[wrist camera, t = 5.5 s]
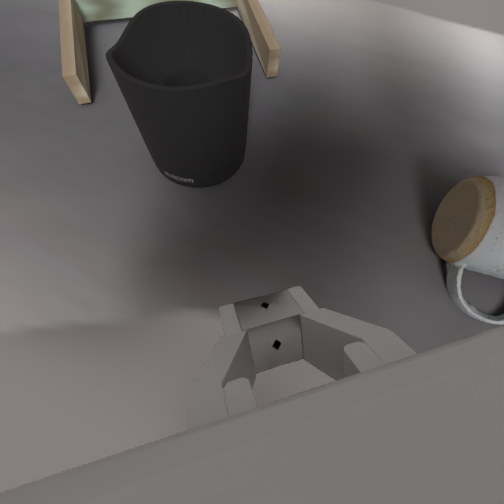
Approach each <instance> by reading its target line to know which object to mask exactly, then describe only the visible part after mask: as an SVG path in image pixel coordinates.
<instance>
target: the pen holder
mask: <svg viewBox="0 0 504 504" xmlns="http://www.w3.org/2000/svg"><path fill="white" fill-rule="evenodd" d="M252 55H253V53H252V43H251V38H250V34H249V32H248V29H247V27H246V26H245V25H244V23H243V22H242V21H241V20H240V19H239V18H238V17H237V16H235V15H234V14H232V13H230V12H229V11H227V10H225V9H222V8H220V7H217V6H214V5H211V4H207V3H202V2H195V1H167V2H160V3H156V4H152V5H149V6H147V7H145V8H143V9H142V10H140V11H139V12H138V13H136V14H135V16H134V17H133V18H132V19H131V20H130V22H129V23H128V25H127V27H126V28H125V30H124V32H123V33H122V35H121V37H120V39H119V40H118V42H117V43H116V44H115V45H114V46H113V47H112V48H111V49H109V50H108V51H107V53H106V59H107V61H108V63H109V66H110V68H111V70H112V72H113V74H114V76H115V79H116V81H117V83H118V85H119V87H120V89H121V92H122V94H123V96H124V98H125V100H126V102H127V105H128V107H129V109H130V111H131V113H132V115H133V118H134V120H135V122H136V124H137V126H138V128H139V131H140V133H141V135H142V137H143V139H144V141H145V144H146V146H147V148H148V150H149V152H150V154H151V156H152V158H153V160H154V162H155V164H156V166H157V168H158V169H159V170H160V172H161V173H162V174H163V175H164V176H165V177H167V178H168V179H170V180H171V181H173V182H175V183H177V184H180V185H184V186H189V187H207V186H212V185H215V184H218V183H220V182H222V181H224V180H226V179H228V178H229V177H231V176H232V175H233V174H234V173H235V172H236V171H237V170H238V168H239V167H240V165H241V163H242V161H243V158H244V153H245V143H246V133H247V121H248V108H249V95H250V83H251V70H252Z"/></svg>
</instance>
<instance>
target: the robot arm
mask: <svg viewBox="0 0 504 504" xmlns="http://www.w3.org/2000/svg"><path fill="white" fill-rule="evenodd" d="M219 312H220V316H221V320H222V324H223V329H224V333H225V336H223V337H221V338H220V340H219V341H218V343H217V345H216V346H215V348H214V350H213V351H212V353H211V354H210V356H209V358H208V359H207V361H206V363H205V364H204V366H203V368H202V369H201V371H200V373H199V375H198V376H197V378H196V379H195V381H194V383H193V384H192V386H191V388H190V389H189V391H188V393H187V408H188V430H186V431H183V432H180V433H177V434H175V435H171V436H169V437H165V438H163V439H160V440H157V441H153V442H150V443H147V444H145V445H141V446H138V447H135V448H132V449H129V450H126V451H123V452H120V453H118V454H115V455H111V456H108V457H105V458H102V459H99V460H96V461H93V462H90V463H88V464H84V465H81V466H78V467H75V468H72V469H69V470H66V471H63V472H60V473H57V474H54V475H51V476H48V477H45V478H42V479H39V480H36V481H33V482H30V483H27V484H24V485H21V486H18V487H15V488H12V489H9V490H6V491H3V492H0V504H504V325H502V326H499V327H496V328H493V329H490V330H487V331H484V332H481V333H478V334H475V335H472V336H469V337H466V338H463V339H460V340H457V341H454V342H451V343H448V344H445V345H442V346H439V347H436V348H433V349H430V350H427V351H424V352H421V353H418V354H417V353H415V352H414V351H413V350H412V349H411V348H410V347H409V346H408V345H407V344H406V343H405V342H403V341H402V340H401V339H400V338H399V337H398V336H397V335H396V334H395V333H394V332H392V331H391V330H389V329H386V328H383V327H380V326H377V325H374V324H371V323H368V322H365V321H362V320H359V319H356V318H353V317H350V316H347V315H343V314H340V313H337V312H334V311H331V310H328V309H325V308H321V309H319V308H318V306H317V305H316V304H315V303H314V302H313V300H312V299H311V298H310V297H309V296H308V294H307V293H306V292H305V291H304V290H303V288H302V287H301V286H299V285H298V286H295V287H292V288H288V289H286V290H282V291H279V292H275V293H272V294H268V295H265V296H261V297H256V298H252V299H248V300H244V301H240V302H236V303H233V304H232V303H231V304H228V305H224V306H220V307H219ZM302 359H304V360H305V361H307V362H308V363H310V364H311V365H313V366H314V367H316V368H317V369H319V370H320V371H322V372H324V373H325V374H327V375H328V376H330V377H331V378H333V379H334V380H336V381H334V382H331V383H328V384H325V385H322V386H319V387H316V388H313V389H310V390H307V391H304V392H301V393H298V394H295V395H292V396H289V397H286V398H283V399H280V400H277V401H274V402H271V403H268V404H265V405H262V406H259V407H257V406H256V403H255V399H254V396H253V393H252V389H253V385H254V382H255V378H256V374H258V373H260V372H263V371H266V370H269V369H272V368H275V367H278V366H280V365H284V364H288V363H291V362H295V361H299V360H302Z"/></svg>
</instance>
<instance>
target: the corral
mask: <svg viewBox="0 0 504 504" xmlns="http://www.w3.org/2000/svg"><path fill="white" fill-rule="evenodd" d="M167 1H195V2H202V3H207V4H211V5H214V6H217V7H220V8H229V7H237V8H238V10H239V12H240V15H241V17H242V20H243V22H244V24H245V26H246V27H247V29H248V32H249V34H250V38H251V41H252V43H253V46H254V48H255V51H256V53H257V55H258V58H259V60H260V62H261V65H262V67H263V70H264V72H265V74H266V77H267V78H268V77H275V76H277V72H278V65H279V58H280V51H281V48H280V46H279V44H278V42H277V39H276V37H275V35H274V33H273V31H272V29H271V27H270V24H269V22H268V20H267V18H266V16H265V14H264V12H263V10H262V7H261V5H260V3H259V1H258V0H59V18H60V38H61V58H62V76H63V78H64V80H65V81H66V83H67V85H68V86H69V88H70V90H71V91H72V93H73V95H74V96H75V98H76V100H77V101H78V103H79V104H84V103H91V93H90V83H89V73H88V63H87V52H86V42H85V32H84V22H89V21H99V20H109V19H119V18H129V17H134V16H135V14H136V13H138V12H139V11H140V10H142V9H143V8H145V7H147V6H149V5H152V4H156V3H160V2H167Z"/></svg>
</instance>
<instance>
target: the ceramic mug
mask: <svg viewBox="0 0 504 504" xmlns="http://www.w3.org/2000/svg"><path fill="white" fill-rule="evenodd" d="M432 245H433V248H434V250H435V252H436V254H437V255H438V256H439V257H440V258H441V259H443V260H445V261H447V262H448V263H449V264H450V267H449V271H448V273H447V278H446V280H447V291H448V293H449V295H450V297H451V299H452V300H453V301H454V303H455V304H456V305H457V306H458V307H459V308H460V309H461V310H462V311H463V312H465V313H466V314H468V315H469V316H471V317H473V318H475V319H477V320H480V321H483V322H487V323H490V324H500V325H502V324H504V313H503V314H501V315H499V316H493V315H487V314H485V313H482V312H479V311H477V310H476V309H475V308H474V307H473V306H472V305H471V304H469V303H467V302H466V301H465V300H464V299H463V297H462V292H461V276H462V274H463V269H467V270H470V271H475V272H479V273H482V274H486V275H490V276H494V277H496V278H500V279H503V280H504V177H503V176H473V177H469V178H467V179H465V180H463V181H461V182H459V183H458V184H457V185H455V186H454V187H453V188H452V189H451V190H450V191H449V192H448V193H447V194H446V196H445V197H444V198H443V200H442V202H441V203H440V205H439V207H438V209H437V211H436V214H435V216H434V219H433V223H432Z"/></svg>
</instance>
